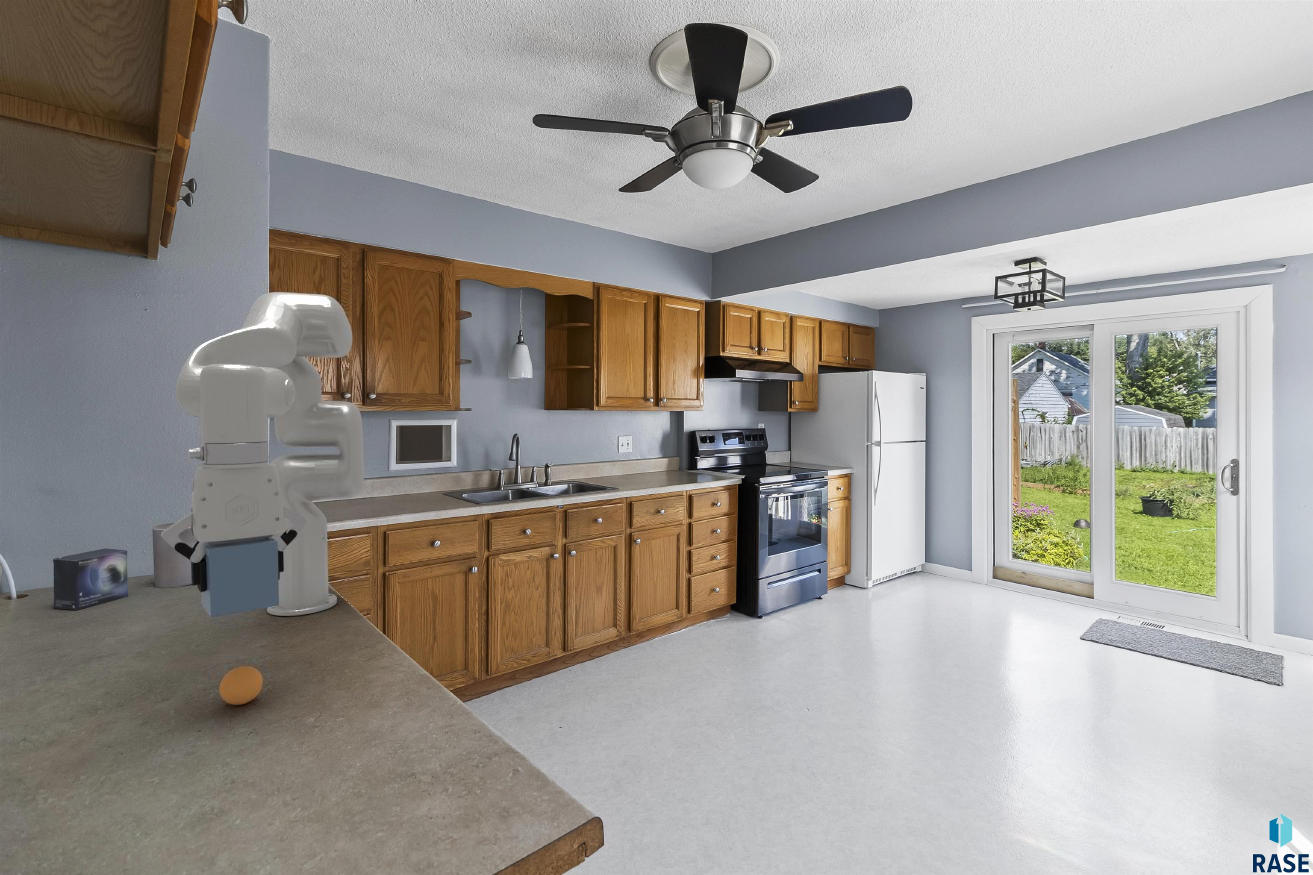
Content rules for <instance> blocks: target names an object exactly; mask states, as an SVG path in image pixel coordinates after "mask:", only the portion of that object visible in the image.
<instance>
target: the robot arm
mask: <svg viewBox="0 0 1313 875" xmlns="http://www.w3.org/2000/svg"><path fill="white" fill-rule="evenodd" d="M352 346H353V331H352V326H351V324H350V321H349V318H348V317H347V315H346V312H345V310H344V308H343V307H342V305H341V304H340V302H338V301H337V300H336V299H335V298H333V297H332V296H329V295H326V294H320V293H319V294H317V293H299V292H288V291H287V292H285V291H284V292H283V291H274V292H267V293H264V294H262V295H260V296H258V298H257V299H255V301H254V302H253V303H252V305H251V308H250V310H249V312H248V313H247V316H246V318H245V320H244V322H243V324H242V326H241V328H239V329H236V330H232V331H230V332H228V333H225V334H222V335H220V336H218V337H215V338H212V339H210V340H207V341H206V342H203V343H202V344H200V345H198V346H197V347H195V348H194V349H193V350H192V351H191V352H190V354H189V355H188V357H187V359H186V360H185V362H184V364H183V366H182V368H181V370H180V373H179V375H178V378H177V381H176V386H175V387H176V388H175V396H176V400H177V404H178V405H179V407H180V408H181V410H182V411H184V413H186V414H187V415H189V416H192V417H195V418H199V419H200V425H201V426H200V427H201V432H200V433H201V435H200V436H201V443H200V445H199V446H198V447H195V448H188V450H187V452H188V453H187V454H188V456H187V457H188V460H193V459H194V460H196V461H199V462H200V463H201V466H198V467H196V470H195V473H194V478H193V487H192V491H191V492H192V494H191V508H190V510H191V511H190V512H189V513H188V514H186V515H184V516H183V517H182V518H180V519H178V520H179V521H178V520H177V521H175V522H173V523H174V524H173V525H171V526H170V527H168V528H167V529H165V530H164V531H163V532H161V536H162V538H163V539H164V540H165V541H166V542H167V543H168V544H169V545H170V546H172V547H173V548H174V549H175V550H176V551H177V552H178V553H180V554H181V555H183V556H185V557H186V558H188V559H189V560H191V578H192V584H191V585H192V586H193V587H194V586H197V589H198V591H199V592H200V593H201V592H206V590H207V570H206V562H205V561H204V555H205V553H206V547H208V546H211V544H215V543H225V542H233V541H242V540H250V539H258V538H266V537H267V538H268V539H274V540H276V541H277V542H278V580H279V605H278V606H273V607H267V608H266V612H267V613H268V614H270V615H273V616H279V617H281V616H282V617H293V616H302V615H303V616H304V615H308V614H314V613H319V612H323V611H325V610H328V609H330V608H332V607H334V606H335V605H336V604H337V603H338V597H337V595H335V594H332V593H329V561H328V560H329V559H328V557H329V556H328V521H327V517H326V516H325V515H324V513H323V512H322V510H321V509H320V508H319V507H317V506H316V504H315V502H314V501H322V500H323V501H325V500H342V499H345V500H346V499H352V498H356V497H359V495H360V494H361V493H362V492H363V488H364V484H365V467H364V465H365V464H364V430H363V419H362V415H361V412H360V410H359V407H358V406H357V405H356V404H354V403H353V402H350V401H345V400H343V401H342V400H340V401H339V400H335V401H334V400H324V399H323V397H322V377H321V375H320V373H319V371H318V370H317V369H316V368H315V366H314V365H313V363H311V361H309V360H308V359H307V358H330V359H331V358H333V359H334V358H336V359H338V358H343V357H345V356H347V355H348V354H349V353H350V351H351V349H352ZM272 418H273V419H274V420H273V421H274V431H275V437H276V440H277V442H278V443H279V444H281V446H282V445H283V446H285V447H291V448H336V449H337V450H338V452H339V453H295V454H294V453H293V454H286V455H281V456H278V457H277V458H274V460H272V461H271V462H270V461H269V459H270V458H269V424H268V421H269V420H268V419H272ZM190 526H191V531H192V535H193V536H194V537H195V539H196V540H197V541H196V542H195V544H194V545H193V547H192V548H191V547H190V546H188V545H187V544H185V543H184V542H183V541H182V540H181V539H180V538H179V537H178V535H179V534H180V533H181V532H182V531H184V530H185V529H187V528H188V527H190Z"/></svg>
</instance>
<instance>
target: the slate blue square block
mask: <svg viewBox="0 0 1313 875" xmlns="http://www.w3.org/2000/svg"><path fill="white" fill-rule="evenodd" d="M204 561H205V562H206V570H207V590H206V592H200V597H201V598H200V602H201V606H202V607H203V609H204V610H205V611H206V613H207V614H208V616H209V617H210V618H211V619H212V618H217V617H222V616H223V617H224V616H228V615H234V614H235V615H236V614H238V613H244V612H251V611H256V610H262V609H267V607H273V606H278V605H279V580H278V542H277V541H276V540H274V539H268V538H267V537H266V538H258V539H250V540H242V541H233V542H225V543H215V544H211V546H208V547H206V553H205V555H204Z"/></svg>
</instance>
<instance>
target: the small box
mask: <svg viewBox="0 0 1313 875" xmlns="http://www.w3.org/2000/svg"><path fill="white" fill-rule="evenodd" d="M52 563H53V607H52V608H53V609H60V610H68V611H69V610H70V611H79V610H83V609H86V608H91V607H94V606H98V605H102V604H105V603H108V602H112V601H116V600H120V599H124V598H128V597H129V592H128V591H129V588H128V587H129V584H128V582H129V581H128V580H129V579H128V550H126V549H116V548H107V547H106V548H101V549H96V550H95V549H94V550H90V551H85V552H84V551H83V552H80V553H76V554H70V555H65V556H59V557H54V558H52Z"/></svg>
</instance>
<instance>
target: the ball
mask: <svg viewBox="0 0 1313 875" xmlns="http://www.w3.org/2000/svg"><path fill="white" fill-rule="evenodd" d="M263 681H264V680H263V676H262V673H261V672H260V671H259V670H258V669H257V668H255V667H253V666H249V665H241V666H238V667H234V668H233V669H231V670H230V671H228V672H227V673H226V674H225V675H224V676H223V678H222V679H221V681H220V684H219V688H218V689H219V695H220V697H221V699H223V701H224V702H226V703H227V704H230V705H234V706H237V705H239V706H240V705H241V706H242V705H244V704H247V703H249V702H252V700H254V699H255V698H256V697H257V696H258V695H259V693H260V692H261V690H262V687H263Z"/></svg>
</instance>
